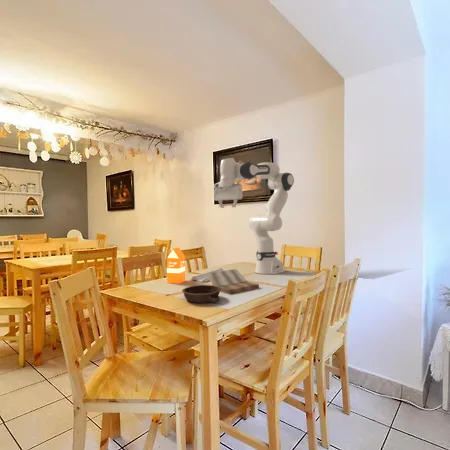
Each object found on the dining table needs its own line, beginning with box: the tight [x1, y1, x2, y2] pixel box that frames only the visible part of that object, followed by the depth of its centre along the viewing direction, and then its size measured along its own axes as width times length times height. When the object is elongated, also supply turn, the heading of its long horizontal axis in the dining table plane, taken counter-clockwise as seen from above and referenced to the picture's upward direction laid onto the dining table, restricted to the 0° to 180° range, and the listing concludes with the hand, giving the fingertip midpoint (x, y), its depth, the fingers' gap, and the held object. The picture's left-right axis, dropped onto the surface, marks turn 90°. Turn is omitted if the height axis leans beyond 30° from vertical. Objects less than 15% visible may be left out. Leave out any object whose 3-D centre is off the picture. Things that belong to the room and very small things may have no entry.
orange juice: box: [166, 247, 186, 284], centre depth 175 cm, size 8×9×20 cm
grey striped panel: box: [207, 268, 248, 287], centre depth 162 cm, size 20×11×2 cm, turn 127°
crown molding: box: [189, 267, 225, 283], centre depth 188 cm, size 31×12×4 cm, turn 150°
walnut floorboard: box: [219, 280, 260, 295], centre depth 154 cm, size 20×9×2 cm, turn 127°
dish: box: [181, 284, 221, 304], centre depth 136 cm, size 18×22×5 cm
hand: (227, 207), depth 178 cm, fingers open, 8 cm apart
